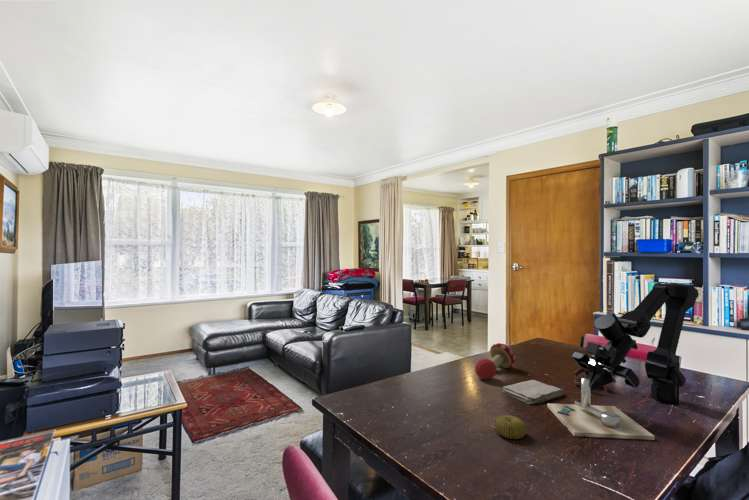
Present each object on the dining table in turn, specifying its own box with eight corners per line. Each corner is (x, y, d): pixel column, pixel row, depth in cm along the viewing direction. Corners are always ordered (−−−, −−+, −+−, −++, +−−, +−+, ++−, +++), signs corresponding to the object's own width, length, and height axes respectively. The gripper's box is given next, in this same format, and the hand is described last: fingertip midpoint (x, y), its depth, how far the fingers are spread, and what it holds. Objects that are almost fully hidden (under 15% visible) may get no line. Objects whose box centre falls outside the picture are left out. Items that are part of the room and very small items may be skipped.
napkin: (614, 409, 111) (614, 405, 111) (654, 439, 93) (654, 434, 93) (547, 406, 113) (547, 402, 113) (574, 436, 95) (574, 431, 95)
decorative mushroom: (486, 353, 141) (507, 335, 150) (470, 361, 150) (491, 343, 158) (505, 378, 138) (525, 358, 147) (488, 384, 147) (508, 365, 155)
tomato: (492, 360, 133) (483, 350, 140) (475, 372, 133) (467, 362, 140) (503, 375, 134) (494, 364, 142) (486, 387, 134) (478, 376, 142)
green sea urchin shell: (520, 429, 90) (489, 419, 95) (520, 445, 90) (489, 435, 95) (530, 418, 97) (500, 409, 102) (530, 433, 97) (500, 424, 102)
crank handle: (623, 426, 98) (624, 390, 98) (611, 428, 96) (611, 392, 96) (582, 405, 111) (582, 374, 111) (570, 407, 110) (570, 375, 110)
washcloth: (499, 394, 124) (500, 385, 124) (533, 384, 133) (533, 376, 133) (530, 407, 113) (530, 397, 113) (564, 396, 123) (564, 387, 123)
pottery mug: (610, 396, 123) (598, 375, 123) (581, 402, 128) (570, 382, 128) (607, 377, 133) (596, 357, 133) (581, 383, 138) (570, 364, 138)
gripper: (576, 326, 118) (549, 363, 115) (633, 340, 100) (602, 384, 97) (594, 348, 121) (567, 384, 117) (652, 366, 103) (623, 409, 100)
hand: (588, 390), depth 108 cm, fingers closed, pressing on crank handle
